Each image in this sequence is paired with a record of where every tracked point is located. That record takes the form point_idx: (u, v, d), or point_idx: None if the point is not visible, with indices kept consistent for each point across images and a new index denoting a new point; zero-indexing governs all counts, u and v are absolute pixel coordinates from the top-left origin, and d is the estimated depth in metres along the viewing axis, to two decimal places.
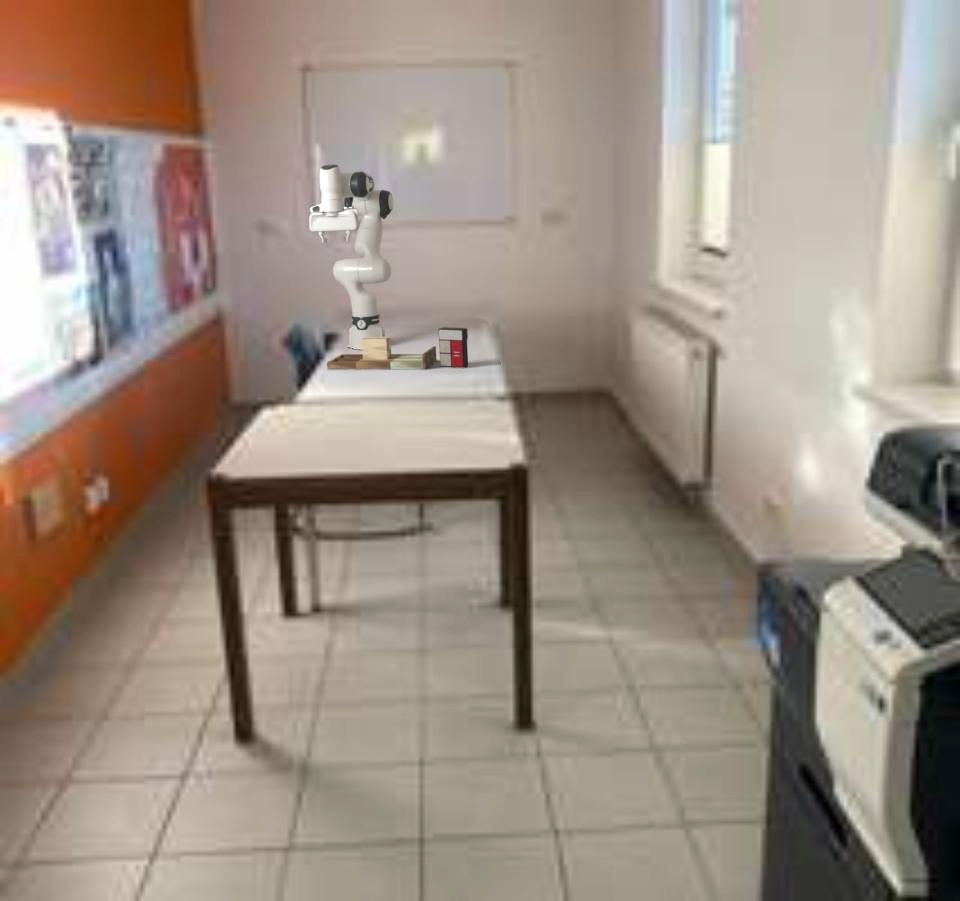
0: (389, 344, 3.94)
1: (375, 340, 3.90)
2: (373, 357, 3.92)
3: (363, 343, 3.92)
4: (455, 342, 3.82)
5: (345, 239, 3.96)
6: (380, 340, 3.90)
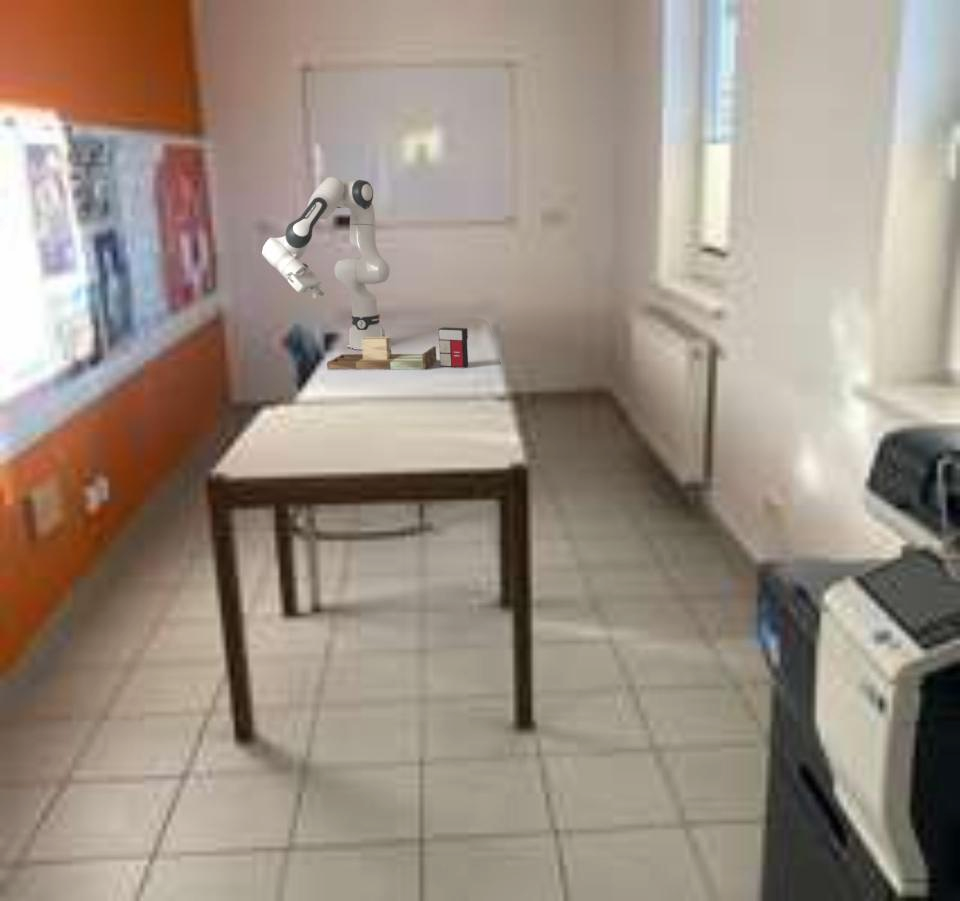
0: (389, 344, 3.94)
1: (375, 340, 3.90)
2: (373, 357, 3.92)
3: (363, 343, 3.92)
4: (455, 342, 3.82)
5: None
6: (380, 340, 3.90)
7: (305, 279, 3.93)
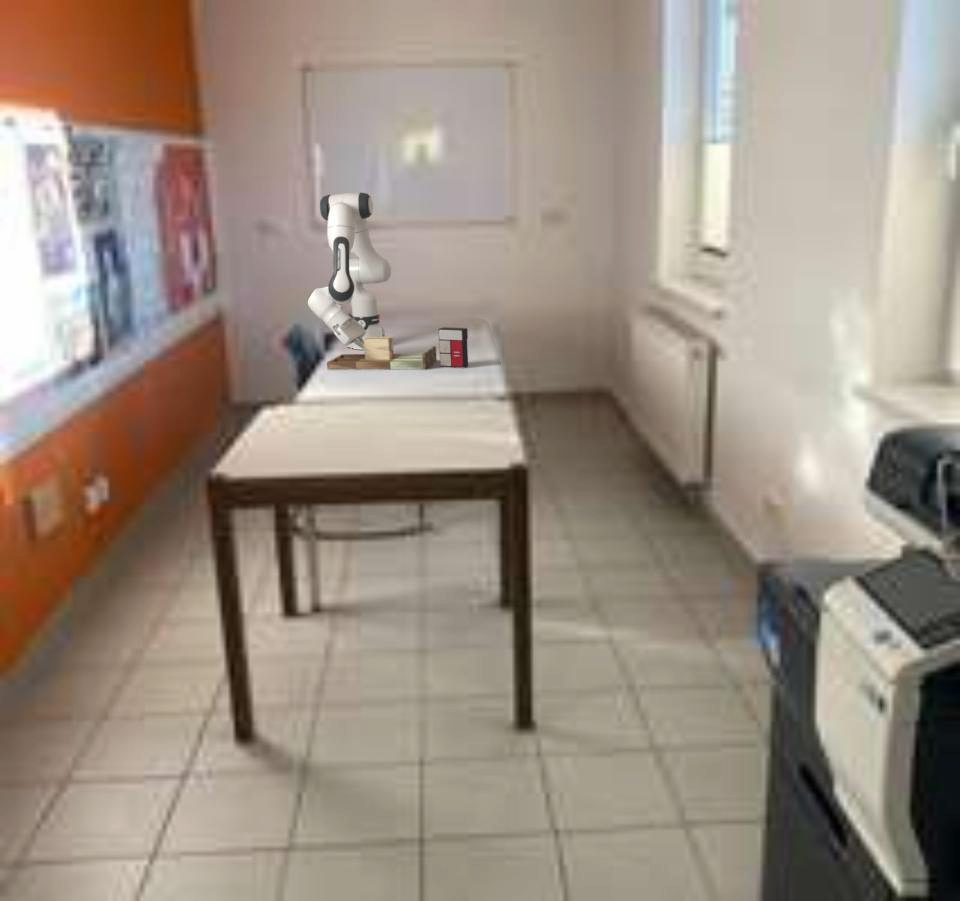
0: (391, 344, 3.93)
1: (377, 340, 3.90)
2: (375, 357, 3.92)
3: (365, 343, 3.91)
4: (455, 342, 3.82)
5: None
6: (382, 340, 3.90)
7: (351, 330, 3.92)
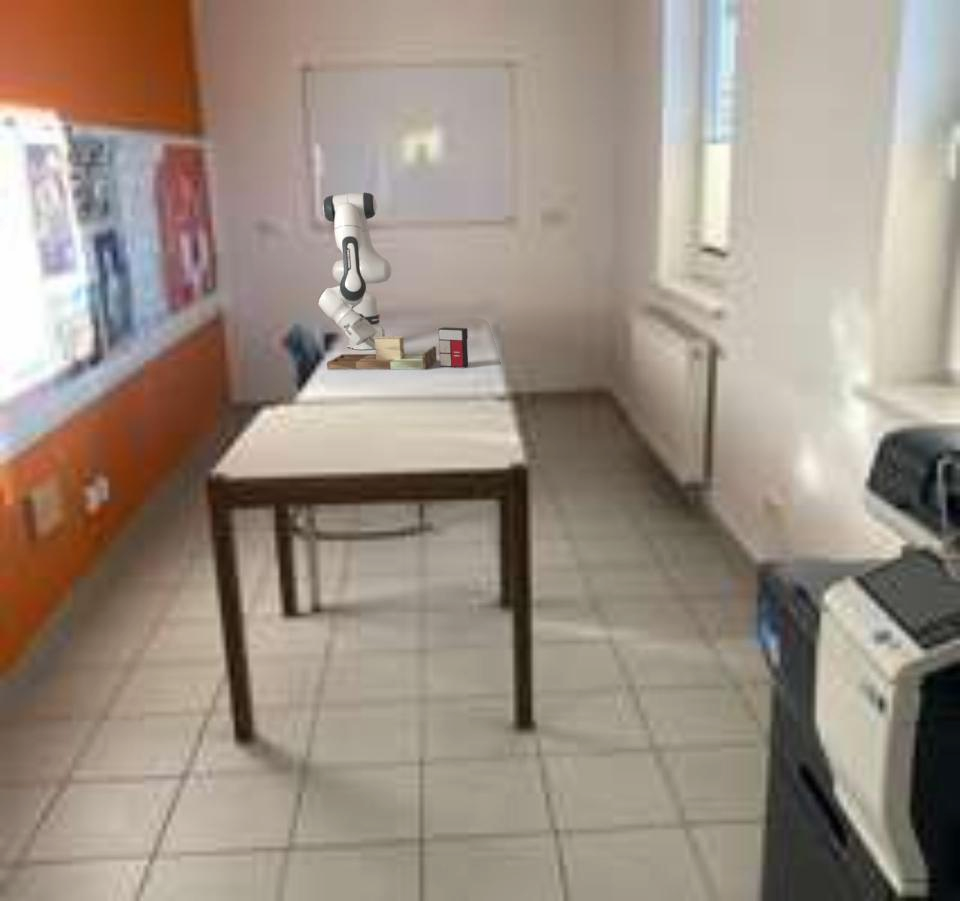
0: (402, 344, 3.92)
1: (388, 340, 3.89)
2: (386, 357, 3.91)
3: (376, 343, 3.90)
4: (455, 342, 3.82)
5: None
6: (393, 340, 3.89)
7: (362, 330, 3.91)
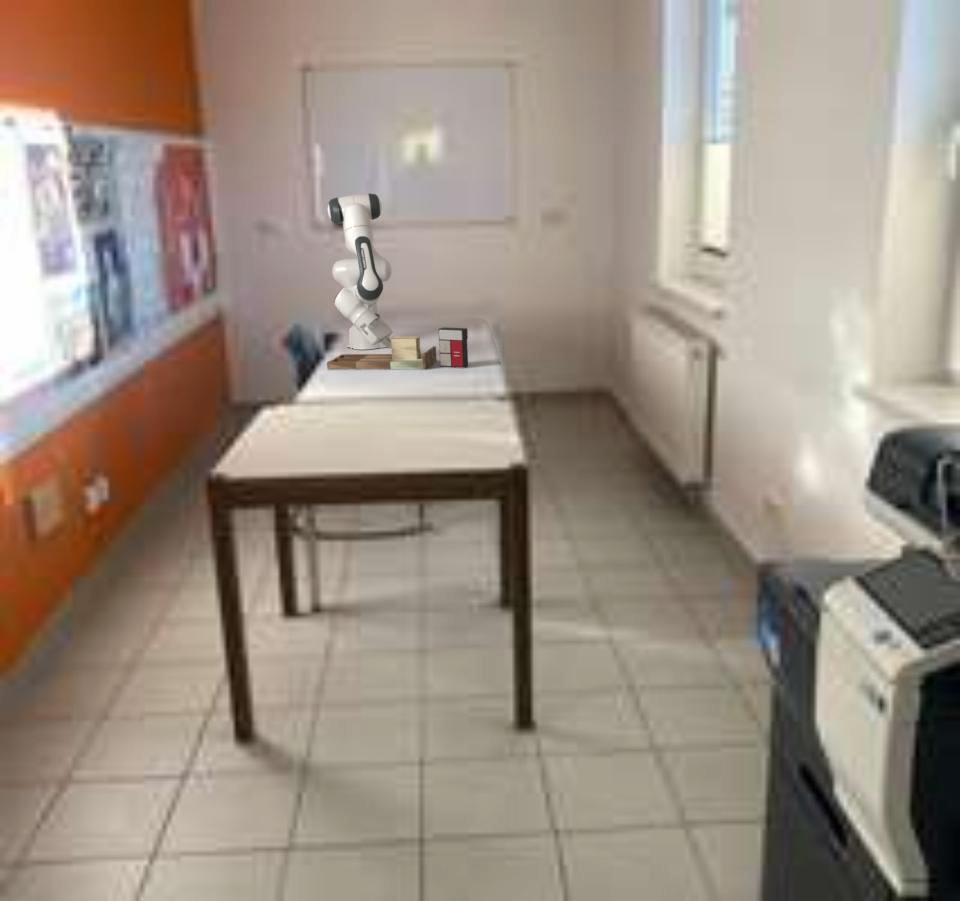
0: (418, 344, 3.91)
1: (405, 340, 3.88)
2: (402, 357, 3.90)
3: (392, 343, 3.89)
4: (455, 342, 3.82)
5: None
6: (410, 340, 3.87)
7: (379, 330, 3.90)
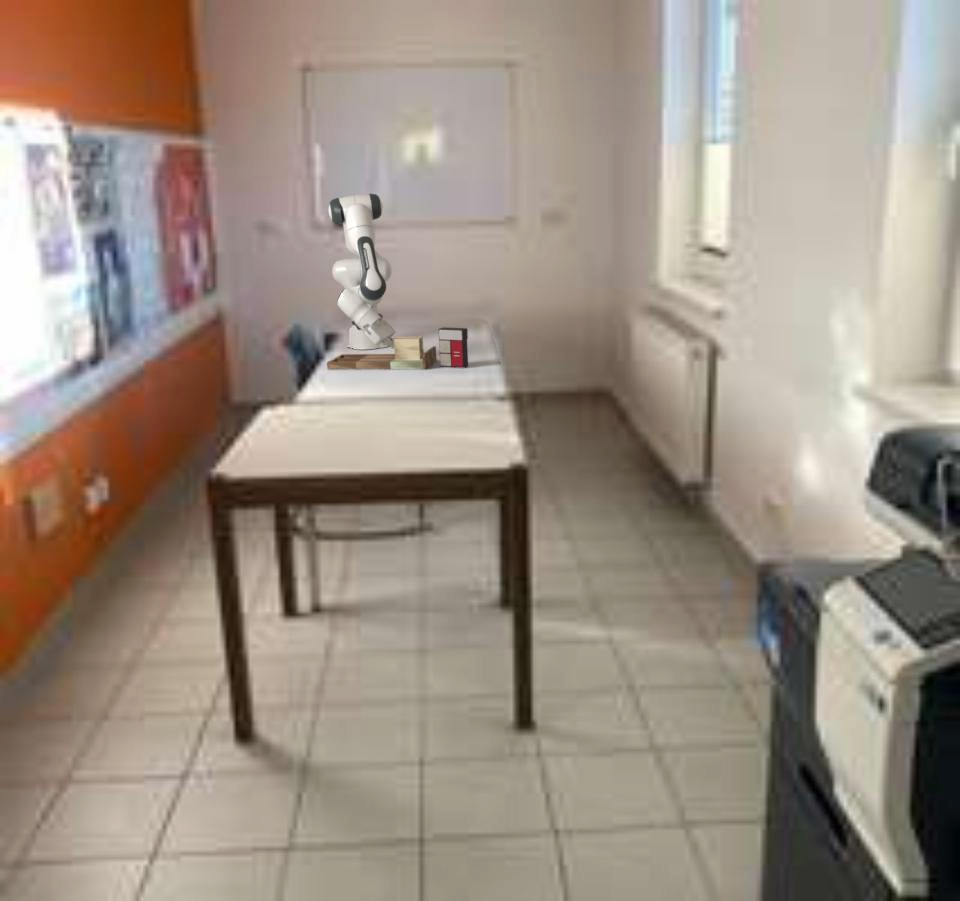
0: (421, 344, 3.91)
1: (408, 340, 3.87)
2: (405, 357, 3.89)
3: (395, 343, 3.89)
4: (455, 342, 3.82)
5: None
6: (413, 340, 3.87)
7: (382, 330, 3.90)
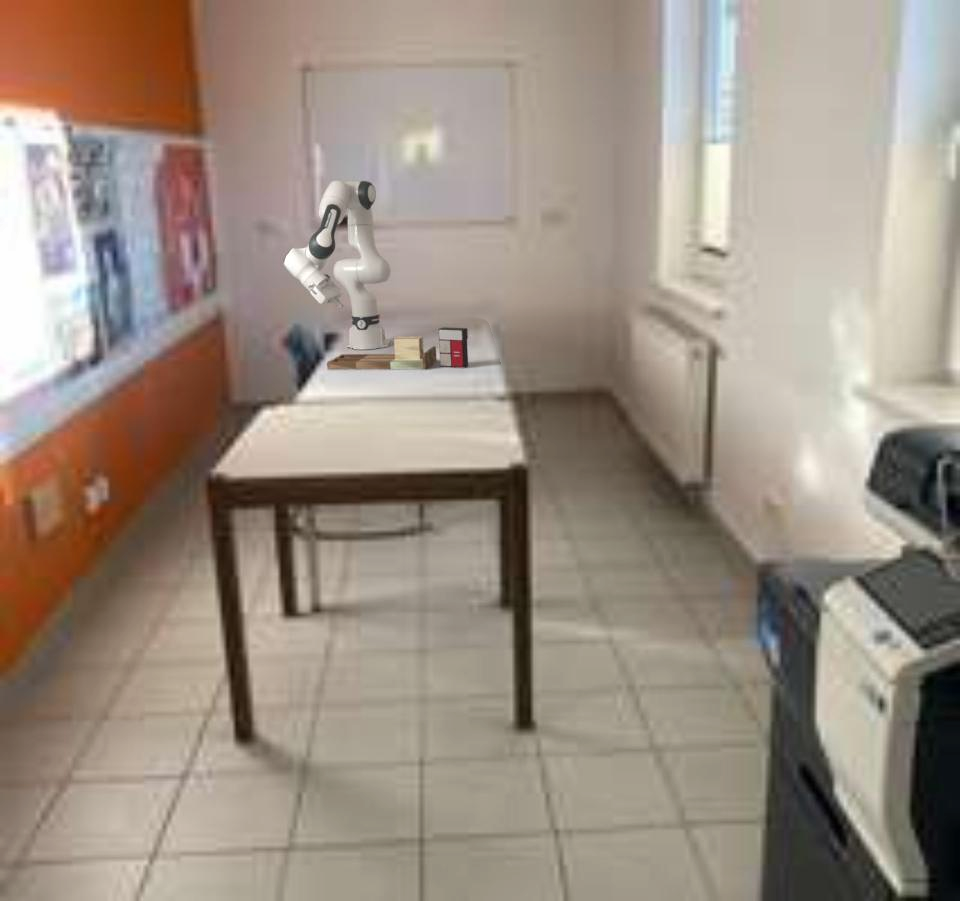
0: (421, 344, 3.91)
1: (408, 340, 3.87)
2: (405, 357, 3.89)
3: (395, 343, 3.89)
4: (455, 342, 3.82)
5: None
6: (413, 340, 3.87)
7: (328, 290, 3.90)
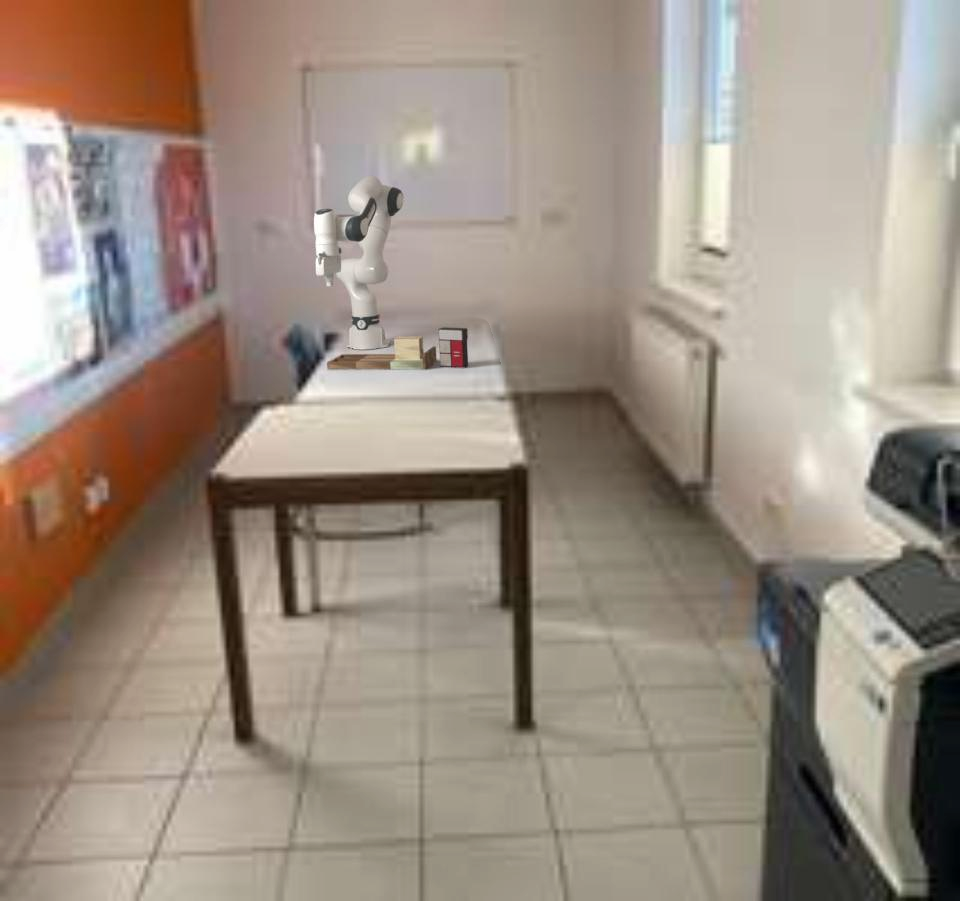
0: (421, 344, 3.91)
1: (408, 340, 3.87)
2: (405, 357, 3.89)
3: (395, 343, 3.89)
4: (455, 342, 3.82)
5: None
6: (413, 340, 3.87)
7: (330, 266, 3.94)
